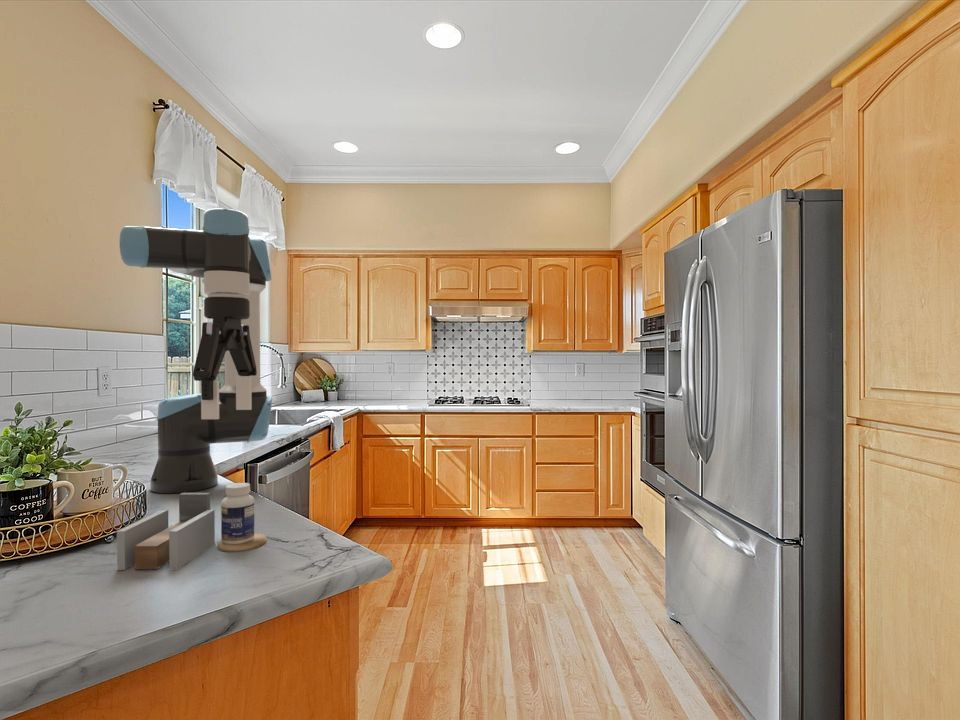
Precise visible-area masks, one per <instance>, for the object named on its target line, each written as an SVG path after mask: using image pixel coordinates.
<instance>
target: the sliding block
mask: <svg viewBox="0 0 960 720" xmlns="http://www.w3.org/2000/svg"><path fill="white" fill-rule="evenodd" d="M178 495H179V496H178V504H179V505H178V506H179V507H178V508H179V509H178V510H179V515H178V516H179V517H178V520H179V521H178V522H177V523H175V524H173V525H171V526H169V528H167V529H165V530H163V531H161V532H160V533H158V534H156V535H154V536H152V537H150V538H148V539H147V540H145V541H143V542H141V543H139V544H137V545H136V546H134V547H135V564H134V569H137V570H139V569H141V570H142V569H144V570H145V569H146V570H147V569H150V570H151V569H152V570H153V569H159V568H161V567H162V566H163V565H165V564H166V563H168V562H169V531H171V530H172V529H174V528H176V527H178V526H180V525H181V524H183V523H185V522H187V521H189V520H190V519H192V518H194V517H196V516H198V515H199V514H201V513H203V512H205V511H207V510H211V492H181V493H180V494H179V493H178Z"/></svg>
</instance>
